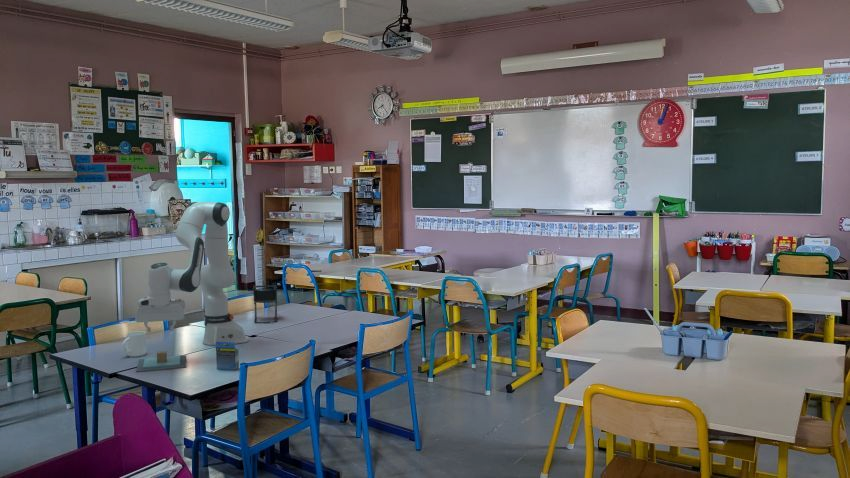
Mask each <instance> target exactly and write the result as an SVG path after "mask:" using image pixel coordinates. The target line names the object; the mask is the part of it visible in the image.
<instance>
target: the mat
mask: <svg viewBox="0 0 850 478" xmlns="http://www.w3.org/2000/svg"><path fill="white" fill-rule="evenodd" d="M179 356H180V366H171V367H159V368H148V369H143V364H144V360H145V358H139V359H138V363H137V367H136V370H135V372H136V373H143V372H145V373H146V372H154V371H165V370H174V369H176V370H177V369H178V370H179V369H186V368H187V355H185V354H184V355H179Z"/></svg>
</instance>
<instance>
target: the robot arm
mask: <svg viewBox="0 0 850 478" xmlns="http://www.w3.org/2000/svg"><path fill="white" fill-rule="evenodd" d="M230 212H231V211H230V208H229V206H228V205H227V204H226V203H223V202H220V201H219V202H216V201H200V202H199V201H192V202H189V203H188V204H187V205H186V206H185V208H184V212H183V213H182V215H181V218H180V219H179V221H178V225H177V228H176V231H175V237H176V240H177V241H178V242H179V243H180V244H181V245H182V246H183V247H186V249H187V248H188V249H189V250H190V257H189V262H188V265H187V268H185V269H180V268H179V269H178V268H173V267H171V266H169V263H167V262H158V263H157V262H156V263H153V264H152V265H150V267H149V271H148V285H149V286H148V287H149V291H148V296H146V297H143V298H139V300H138V301H137V304H138V306H137V307H136V310H135V315H134V321H135V322H136V323H143V325H144V326H145V328H146V333H151V332H152V329H151V328H152V327H150V326H149V325H148V324H149V323H153V322H169V321H171V322H172V325H170V326H169V331H175V329H174V328H175V325H176V323H177V321H183V320H184V319H185V308H186V302H185V301H184V300H183V299H180V298H179V299H178V298H177V299H174V298H173V299H171V291H180V292H186V293H194V292H195V291H196V290H197V289H198V287H199V286H200V287H201V291H202V295H203V299H204V317H203V321H204V322H203V323H204V333H203V340H202V344H203V345H207V346H215V347H216V342H234V343H235V345H236V344H245V343H248V342H249V341H250V337H249V336H248V335H246V334H245V330H244V328H243V327H242V326H241V325H240V324H238V323H237V322H235V321H234V318H235V317H234V315H233V314H231V313H229V301H228V300H229V299H228V297H227V295H226V294H225V291H224V289H228V288H230V287H232V286H233V285H234V284H235V282H236V281H237V280H236V279H237V275H236V272H235V271H234V269H233V268H232V265H231V262H230V259H229V241H228V240H229V230H228V229H229V228H228V223H227V222H228V221H229V218H230V216H231V215H230V214H231V213H230ZM204 227H205V231H204V240H203V239H202V234H203V230H204ZM204 255H205V256H206V258H207V260H208V264H204V265H202V264H203V258H204ZM223 346H227V345H226V344H224V345H223Z"/></svg>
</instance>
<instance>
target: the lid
mask: <svg viewBox="0 0 850 478" xmlns="http://www.w3.org/2000/svg"><path fill="white" fill-rule="evenodd" d="M167 352H168V351H167V350H161V351H158V350H157V352H156V357H147V358H144V359H145V360H144V364H143V369H148V368H159V367H171V366H180V356H181V355H170V356H168V353H167Z"/></svg>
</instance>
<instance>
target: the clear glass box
mask: <svg viewBox="0 0 850 478" xmlns="http://www.w3.org/2000/svg"><path fill="white" fill-rule="evenodd" d="M256 288H273V289H270V290H269V289H267V290H258V289H256ZM252 289H253V291H252V292H253V305H254V322H253V323H254V324H256V323H264V324H271V323H270V322H276V321H277V322H278V306H277V303H278V297H277V296H278V293H277V289H278V288H277V284H270V285H269V284H268V285H267V284H266V285H253V288H252ZM257 303H258V304H266V303H267V304H270V303H274V319H275V320H270V321H269V320H268V321H257ZM277 322H276V323H277Z"/></svg>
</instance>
